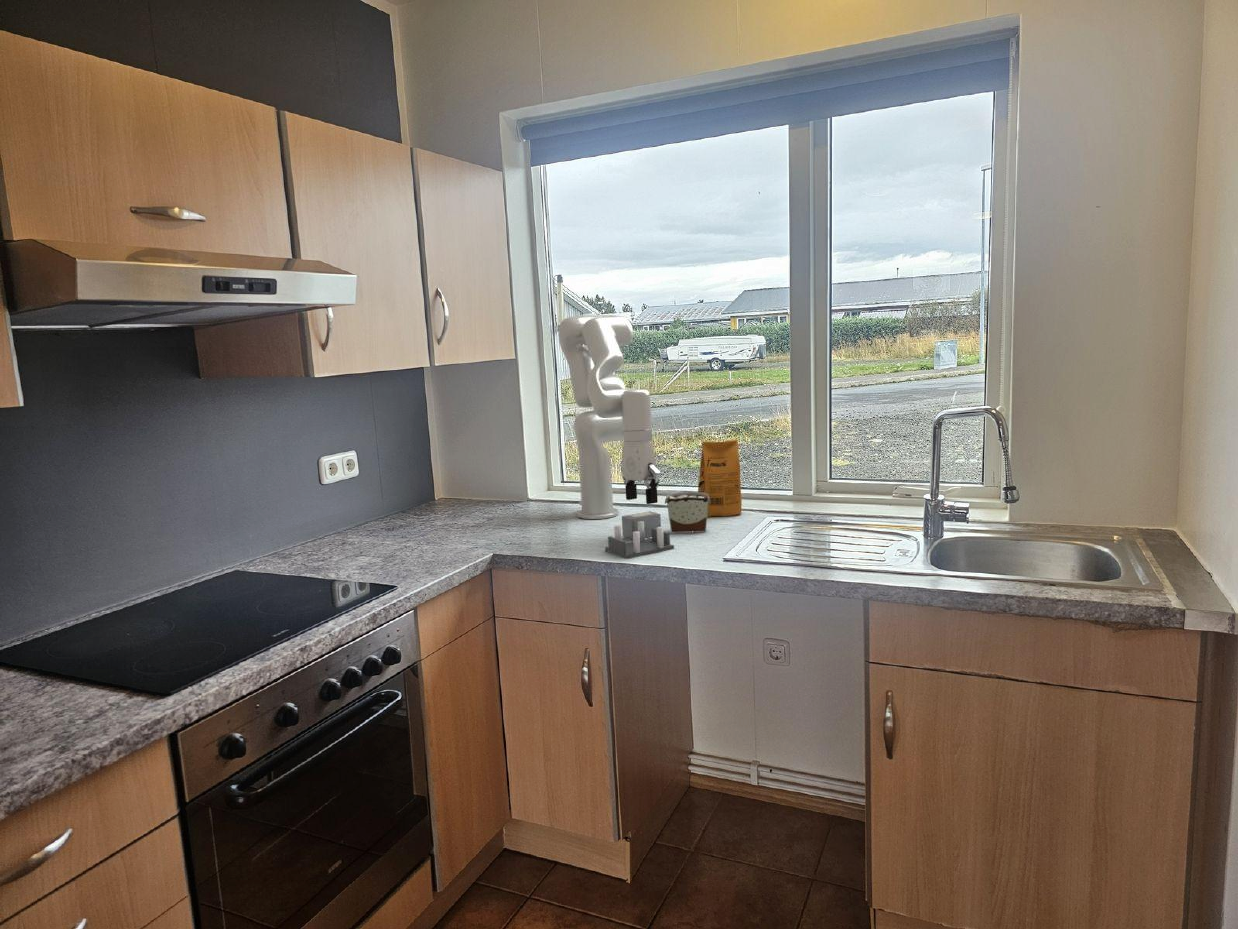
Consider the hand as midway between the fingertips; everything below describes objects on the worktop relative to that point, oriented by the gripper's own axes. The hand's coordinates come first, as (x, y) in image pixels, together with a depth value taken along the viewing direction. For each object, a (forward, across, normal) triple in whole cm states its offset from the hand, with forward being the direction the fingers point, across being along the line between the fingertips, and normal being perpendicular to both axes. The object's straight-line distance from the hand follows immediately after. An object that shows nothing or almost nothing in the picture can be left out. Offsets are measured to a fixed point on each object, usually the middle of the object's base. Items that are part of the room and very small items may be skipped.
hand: (641, 501), depth 213 cm
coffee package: (+10, -9, +33) cm, 36 cm away
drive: (+10, -1, 0) cm, 10 cm away
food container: (+10, +1, +14) cm, 17 cm away
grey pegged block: (+10, +10, -8) cm, 16 cm away
